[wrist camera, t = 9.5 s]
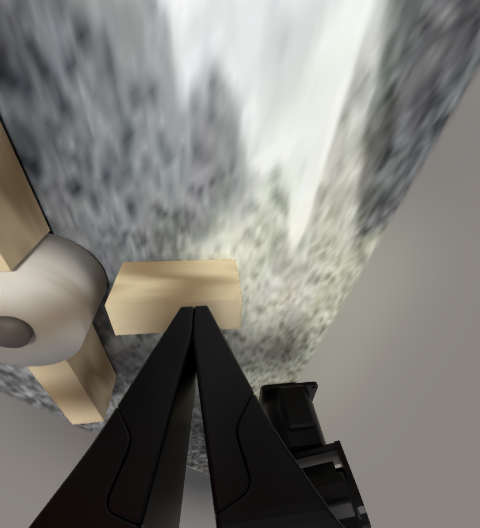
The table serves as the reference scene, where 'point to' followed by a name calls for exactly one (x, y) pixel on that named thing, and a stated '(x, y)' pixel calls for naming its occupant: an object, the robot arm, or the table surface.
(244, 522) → the robot arm
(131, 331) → the folding leg
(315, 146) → the table surface
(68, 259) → the stool base
